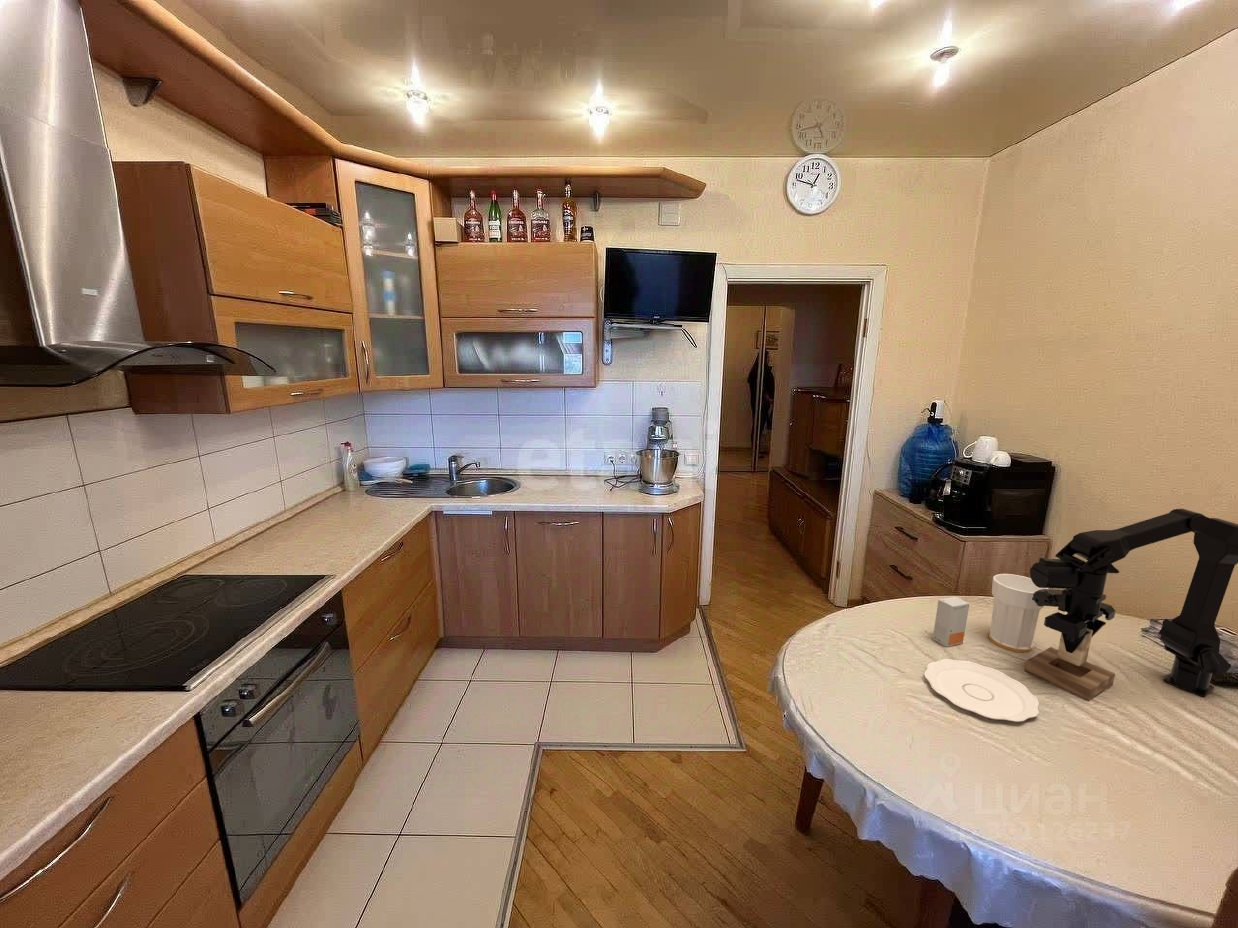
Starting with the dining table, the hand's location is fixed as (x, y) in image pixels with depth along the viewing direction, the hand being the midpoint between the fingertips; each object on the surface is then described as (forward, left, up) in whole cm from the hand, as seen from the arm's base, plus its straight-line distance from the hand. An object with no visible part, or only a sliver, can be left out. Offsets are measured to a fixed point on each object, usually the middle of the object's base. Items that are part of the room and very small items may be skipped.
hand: (1073, 649), depth 112 cm
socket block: (0, 0, -8) cm, 8 cm away
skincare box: (+9, -22, -8) cm, 25 cm away
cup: (-5, -14, -8) cm, 17 cm away
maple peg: (0, 0, -3) cm, 2 cm away
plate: (+24, -7, -8) cm, 26 cm away
